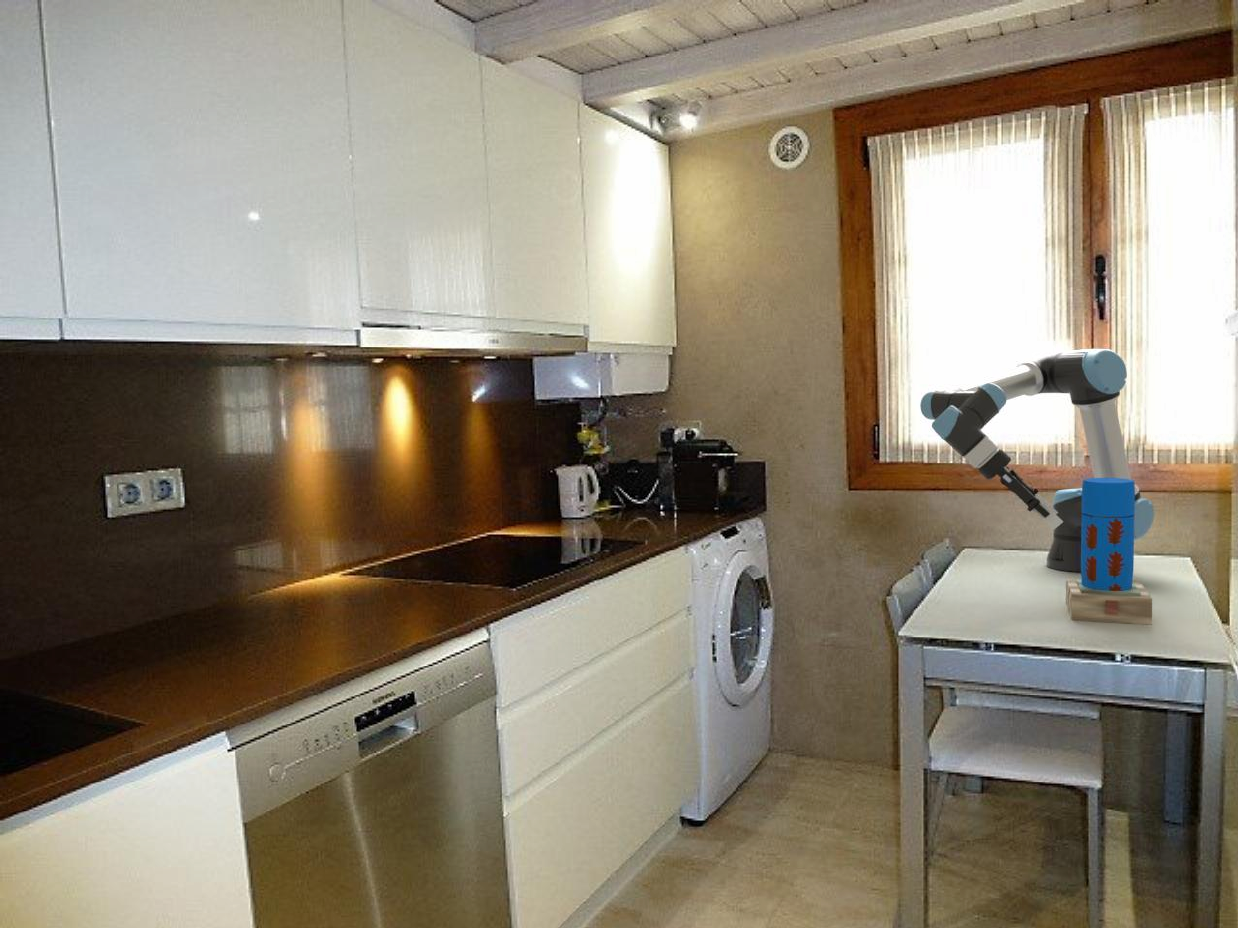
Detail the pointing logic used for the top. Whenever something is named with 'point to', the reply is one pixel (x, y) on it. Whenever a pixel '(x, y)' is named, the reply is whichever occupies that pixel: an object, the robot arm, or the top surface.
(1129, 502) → the thermos
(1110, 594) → the wooden box
